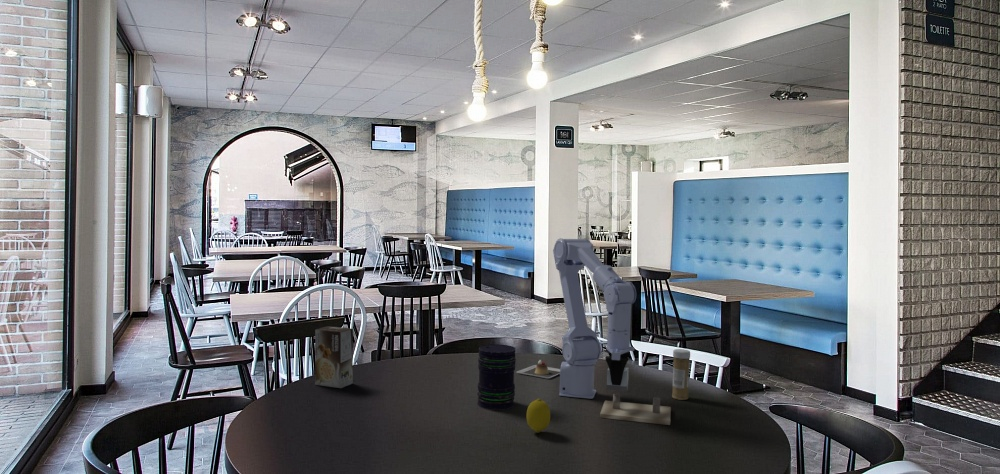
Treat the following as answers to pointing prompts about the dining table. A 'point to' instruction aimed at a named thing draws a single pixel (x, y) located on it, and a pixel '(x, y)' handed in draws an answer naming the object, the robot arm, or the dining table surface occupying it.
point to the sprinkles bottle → (681, 374)
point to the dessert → (539, 370)
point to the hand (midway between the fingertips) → (617, 382)
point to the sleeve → (623, 384)
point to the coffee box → (333, 356)
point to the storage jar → (496, 377)
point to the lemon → (538, 415)
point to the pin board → (636, 411)
